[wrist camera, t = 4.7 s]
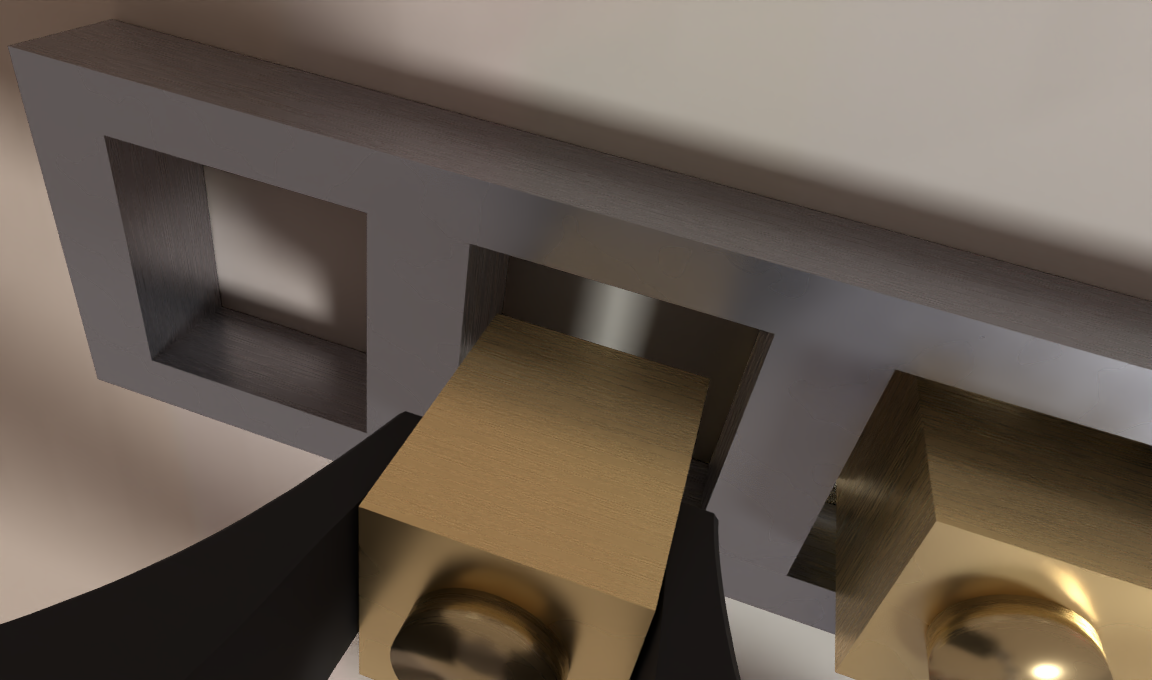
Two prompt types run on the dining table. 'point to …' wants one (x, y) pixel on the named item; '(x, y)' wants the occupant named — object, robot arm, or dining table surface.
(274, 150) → the rack rail
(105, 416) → the dining table surface
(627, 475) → the knobbed gold cube
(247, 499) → the dining table surface
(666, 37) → the dining table surface
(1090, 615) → the gold knobbed block
